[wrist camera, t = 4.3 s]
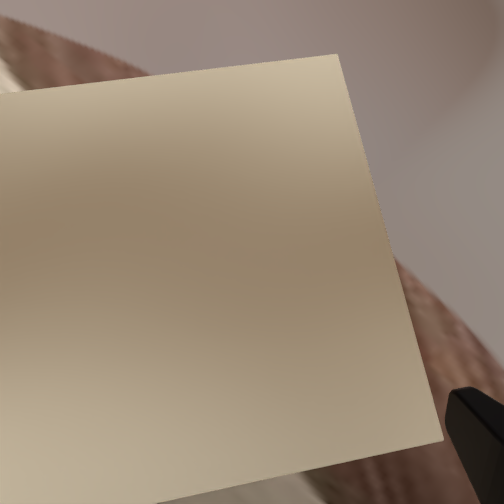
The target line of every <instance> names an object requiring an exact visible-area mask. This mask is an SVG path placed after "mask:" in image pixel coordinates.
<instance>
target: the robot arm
mask: <svg viewBox="0 0 504 504" xmlns="http://www.w3.org/2000/svg"><path fill="white" fill-rule="evenodd" d="M445 425H446V429H447V432H448V434H449V436H450V438H451V441H452V443H453V445H454V447H455V449H456V451H457V454H458V456H459V458H460V460H461V462H462V464H463V467H464V469H465V471H466V473H467V475H468V477H469V480H470V482H471V484H472V486H473V488H474V490H475V493H476V495H477V497H478V499H479V501H480V503H481V504H504V405H503V404H501V403H499V402H498V401H496V400H494V399H493V398H491V397H489V396H488V395H486V394H485V393H483V392H481V391H480V390H478V389H476V388H474V387H463V388H458V389H454V390H452V391H451V392H450V393H449V397H448V403H447V409H446V415H445Z"/></svg>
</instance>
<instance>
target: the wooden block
mask: <svg viewBox="0 0 504 504" xmlns="http://www.w3.org/2000/svg"><path fill="white" fill-rule="evenodd" d="M439 441H444V438H443V434H442V430H441V427H440V423H439V419H438V416H437V412H436V409H435V405H434V401H433V398H432V394H431V391H430V387H429V383H428V380H427V376H426V372H425V369H424V365H423V362H422V358H421V354H420V351H419V347H418V344H417V340H416V336H415V333H414V329H413V325H412V322H411V318H410V315H409V311H408V307H407V304H406V300H405V297H404V293H403V289H402V286H401V282H400V278H399V275H398V271H397V268H396V264H395V260H394V257H393V253H392V250H391V246H390V242H389V239H388V235H387V231H386V228H385V224H384V221H383V217H382V214H381V210H380V206H379V203H378V199H377V195H376V192H375V188H374V185H373V181H372V177H371V174H370V170H369V166H368V163H367V159H366V156H365V152H364V148H363V145H362V142H361V138H360V134H359V130H358V127H357V123H356V119H355V116H354V112H353V109H352V105H351V101H350V98H349V94H348V90H347V87H346V83H345V80H344V76H343V72H342V69H341V65H340V62H339V58H338V55H337V54H333V55H325V56H316V57H307V58H300V59H291V60H282V61H274V62H265V63H257V64H248V65H240V66H232V67H224V68H215V69H206V70H198V71H189V72H181V73H173V74H164V75H156V76H147V77H139V78H130V79H122V80H113V81H105V82H97V83H88V84H80V85H71V86H63V87H54V88H46V89H38V90H29V91H21V92H12V93H4V94H0V504H156V503H160V502H165V501H170V500H174V499H179V498H183V497H188V496H192V495H197V494H202V493H206V492H211V491H215V490H220V489H224V488H229V487H234V486H238V485H243V484H247V483H252V482H256V481H261V480H266V479H270V478H275V477H279V476H284V475H288V474H293V473H298V472H302V471H307V470H311V469H316V468H320V467H325V466H330V465H334V464H339V463H343V462H348V461H352V460H357V459H362V458H366V457H371V456H375V455H380V454H384V453H389V452H393V451H398V450H403V449H407V448H412V447H416V446H421V445H425V444H430V443H435V442H439Z"/></svg>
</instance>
